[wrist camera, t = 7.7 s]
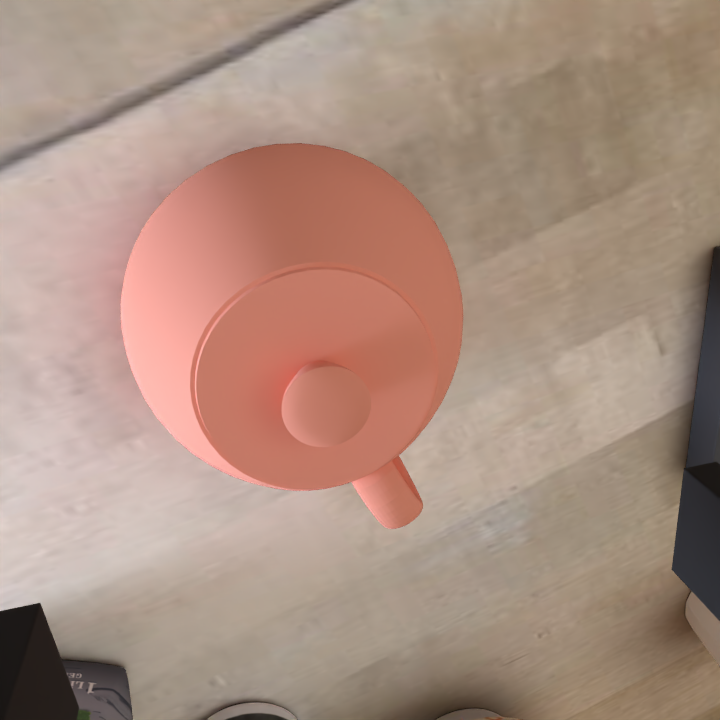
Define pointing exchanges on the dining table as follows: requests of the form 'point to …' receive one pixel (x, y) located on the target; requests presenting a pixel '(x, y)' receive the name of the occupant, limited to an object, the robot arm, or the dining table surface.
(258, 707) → the pill bottle
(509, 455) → the dining table surface
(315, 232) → the sugar bowl
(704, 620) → the white cup
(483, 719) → the bowl
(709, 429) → the block
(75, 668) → the juice carton
